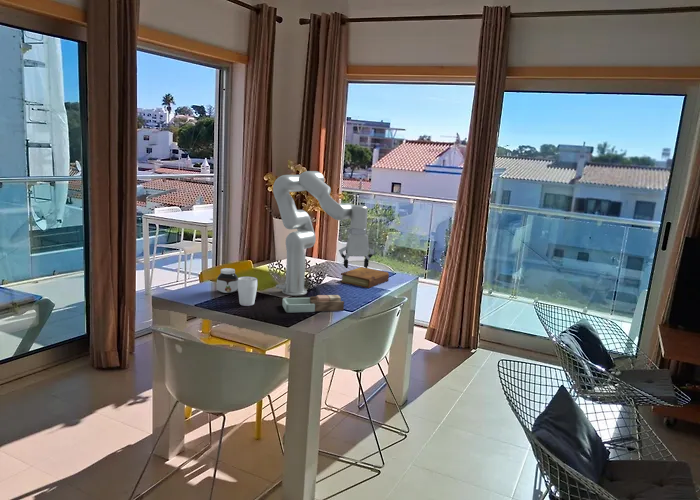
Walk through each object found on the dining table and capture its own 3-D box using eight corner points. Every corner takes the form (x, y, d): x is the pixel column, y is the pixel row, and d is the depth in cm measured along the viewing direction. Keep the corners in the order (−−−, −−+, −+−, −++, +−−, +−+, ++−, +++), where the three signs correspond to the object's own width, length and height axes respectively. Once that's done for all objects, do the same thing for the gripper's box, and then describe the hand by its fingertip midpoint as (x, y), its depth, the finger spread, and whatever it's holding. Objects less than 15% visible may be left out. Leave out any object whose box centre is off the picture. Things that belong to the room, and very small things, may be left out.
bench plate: (314, 311, 245) (314, 302, 244) (309, 305, 254) (310, 296, 253) (343, 310, 249) (344, 301, 249) (338, 304, 258) (338, 296, 257)
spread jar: (215, 294, 262) (215, 270, 260) (221, 288, 273) (221, 265, 271) (239, 295, 262) (240, 272, 259) (244, 289, 273) (245, 267, 270)
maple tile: (330, 303, 249) (330, 298, 248) (327, 300, 254) (327, 295, 253) (340, 303, 250) (341, 297, 250) (337, 299, 255) (338, 294, 255)
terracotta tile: (318, 303, 247) (319, 298, 247) (316, 300, 252) (316, 295, 252) (329, 303, 249) (329, 298, 248) (326, 300, 254) (326, 295, 253)
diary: (369, 289, 293) (369, 279, 292) (340, 283, 302) (340, 273, 301) (388, 281, 312) (389, 272, 311) (360, 276, 321) (361, 266, 320)
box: (286, 312, 240) (286, 305, 240) (282, 305, 251) (282, 298, 250) (314, 311, 244) (315, 304, 244) (309, 304, 255) (309, 297, 254)
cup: (257, 301, 254) (258, 277, 252) (255, 307, 245) (256, 281, 243) (238, 300, 254) (239, 275, 251) (235, 306, 245) (236, 280, 242)
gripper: (342, 232, 244) (340, 269, 247) (378, 233, 249) (375, 269, 252) (338, 230, 251) (336, 265, 254) (373, 230, 256) (370, 265, 259)
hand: (355, 267), depth 253 cm, fingers open, 9 cm apart
